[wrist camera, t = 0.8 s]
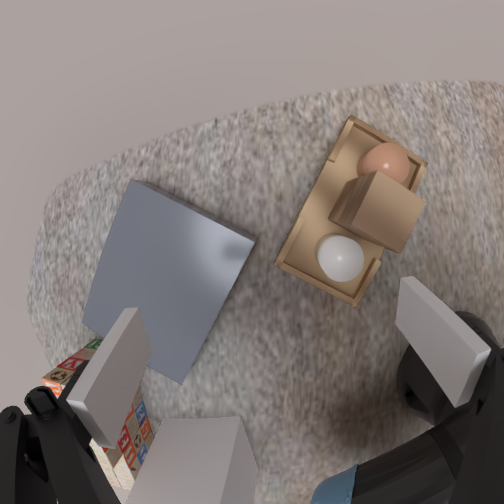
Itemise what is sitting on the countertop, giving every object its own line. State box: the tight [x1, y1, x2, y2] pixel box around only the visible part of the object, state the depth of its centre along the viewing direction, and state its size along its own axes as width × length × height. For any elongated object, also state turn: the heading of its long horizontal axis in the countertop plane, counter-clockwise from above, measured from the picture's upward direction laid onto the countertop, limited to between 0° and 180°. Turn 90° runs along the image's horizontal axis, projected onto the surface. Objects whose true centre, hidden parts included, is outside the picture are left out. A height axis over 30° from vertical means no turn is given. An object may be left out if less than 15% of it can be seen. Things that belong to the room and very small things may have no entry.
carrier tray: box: [274, 115, 428, 307], centre depth 24 cm, size 16×9×13 cm, turn 153°
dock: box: [82, 179, 258, 385], centre depth 31 cm, size 14×18×4 cm
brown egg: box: [357, 143, 410, 184], centre depth 24 cm, size 4×4×4 cm
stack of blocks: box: [42, 339, 154, 490], centre depth 31 cm, size 21×6×12 cm, turn 2°
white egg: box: [315, 233, 364, 282], centre depth 26 cm, size 4×4×4 cm
